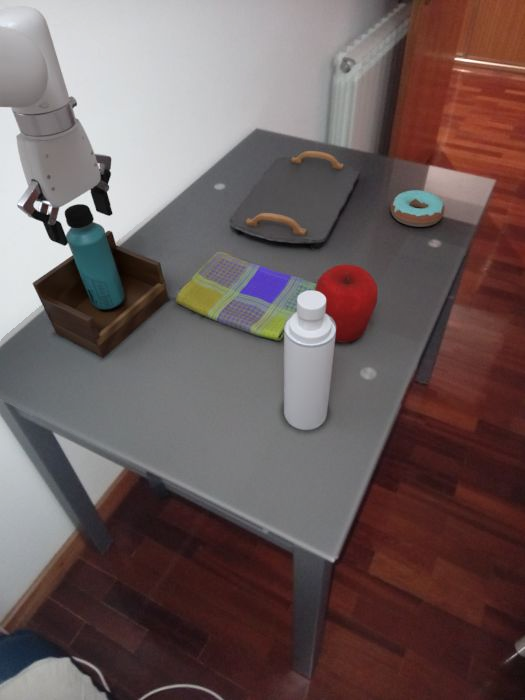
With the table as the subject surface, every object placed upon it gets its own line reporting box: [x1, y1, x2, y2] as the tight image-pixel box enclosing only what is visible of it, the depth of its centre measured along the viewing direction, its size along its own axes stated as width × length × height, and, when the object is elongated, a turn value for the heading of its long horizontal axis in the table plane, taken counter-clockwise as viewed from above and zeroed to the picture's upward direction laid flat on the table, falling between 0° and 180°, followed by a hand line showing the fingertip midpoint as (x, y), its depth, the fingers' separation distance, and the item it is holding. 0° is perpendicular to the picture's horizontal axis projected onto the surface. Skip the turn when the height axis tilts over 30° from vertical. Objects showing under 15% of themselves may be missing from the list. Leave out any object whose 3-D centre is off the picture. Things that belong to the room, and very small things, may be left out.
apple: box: [315, 263, 379, 343], centre depth 84 cm, size 11×10×14 cm
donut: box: [390, 189, 445, 228], centre depth 112 cm, size 12×12×4 cm
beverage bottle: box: [64, 203, 125, 309], centre depth 84 cm, size 6×7×20 cm
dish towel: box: [174, 250, 317, 342], centre depth 95 cm, size 18×24×3 cm
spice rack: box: [32, 230, 169, 359], centre depth 89 cm, size 18×12×12 cm, turn 148°
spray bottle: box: [283, 290, 336, 431], centre depth 68 cm, size 7×7×25 cm
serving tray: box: [228, 150, 361, 250], centre depth 116 cm, size 39×23×6 cm, turn 159°
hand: (83, 227), depth 79 cm, fingers open, 9 cm apart
